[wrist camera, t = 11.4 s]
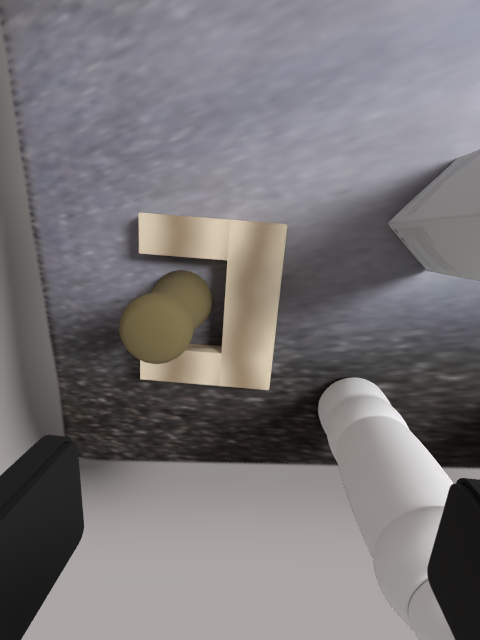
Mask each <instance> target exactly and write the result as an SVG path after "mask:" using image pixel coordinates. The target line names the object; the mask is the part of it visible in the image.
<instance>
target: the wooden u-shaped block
mask: <svg viewBox="0 0 480 640" xmlns="http://www.w3.org/2000/svg"><path fill="white" fill-rule="evenodd" d="M286 233H287V224H277V223H264V222H252V221H239V220H226V219H213V218H200V217H188V216H175V215H162V214H149V213H139V253H140V254H153V255H165V256H178V257H191V258H203V259H216V260H227V275H226V290H225V306H224V322H223V337H222V346H214V345H201V344H189V345H188V347H187V349H186V350H185V351H184V352H183V353H182V354H181V355H180V356H179V357H178V358H176V359H174V360H172V361H170V362H168V363H162V364H151V363H146V362H143V361H141V360H140V379H143V380H155V381H167V382H179V383H191V384H203V385H215V386H227V387H239V388H251V389H263V390H269V386H270V377H271V368H272V359H273V350H274V341H275V332H276V323H277V314H278V305H279V296H280V287H281V278H282V269H283V260H284V251H285V242H286Z"/></svg>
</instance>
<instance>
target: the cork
mask: <svg viewBox="0 0 480 640" xmlns="http://www.w3.org/2000/svg"><path fill="white" fill-rule="evenodd" d="M212 304H213V298H212V293H211V290H210V288H209V286H208V285H207V283H206V282H205V281H204V280H203V279H202V278H201V277H200V276H198V275H196V274H194V273H192V272H189V271H183V270H179V271H173V272H170V273H168V274H166V275H164V276H163V277H162V278H161V279H160V280H159V281H158V282H157V284H156V285H155V287H154V288H153V290H152V291H151V292H150V293H148V294H144V295H142V296H140V297H138V298H136V299H134V300H132V302H131V303H130V304H129V305H128V306H127V307H126V308H125V310H124V312H123V315H122V317H121V319H120V325H119V333H120V336H121V340H122V342H123V344H124V346H125V347H126V349H127V350H128V351H129V352H130V353H131V354H132V355H133V356H134V357H135V358H137V359H139V360H141V361H143V362H146V363H151V364H162V363H168V362H170V361H172V360H174V359H176V358H178V357H179V356H180V355H181V354H182V353H183V352H184V351H185V350H186V349H187V347H188V345H189V343H190V341H191V339H192V335H193V331H194V330H195V329H196V328H197V327H198V326H200V325H201V324H202V323H203V322H204V321H205V320H206V319H207V318H208V316H209V314H210V312H211V310H212Z"/></svg>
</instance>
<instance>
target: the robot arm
mask: <svg viewBox="0 0 480 640" xmlns="http://www.w3.org/2000/svg"><path fill="white" fill-rule="evenodd" d="M83 530H84V520H83V508H82V496H81V484H80V471H79V458H78V448H77V445H76V444H73V443H72V440H71V438H69V437H64V436H54V435H45V436H44V437H42V438H41V439H40V440H39V441H38V442H37V443H36V444H34V445H33V446H32V447H31V448H30V449H29V450H28V451H27V452H26V453H25V454H23V455H22V456H21V457H20V458H19V459H18V460H17V461H16V462H15V463H14V464H13V465H12V466H11V467H9V468H8V469H7V470H6V471H5V472H4V473H3V474H2V475H1V476H0V640H21V639H22V637H23V635H24V634H25V632H26V630H27V629H28V627H29V625H30V624H31V622H32V620H33V619H34V617H35V615H36V614H37V612H38V610H39V609H40V607H41V605H42V604H43V602H44V600H45V599H46V597H47V595H48V594H49V592H50V591H51V589H52V587H53V585H54V584H55V582H56V580H57V579H58V577H59V576H60V574H61V572H62V571H63V569H64V567H65V566H66V564H67V562H68V561H69V559H70V557H71V556H72V554H73V552H74V550H75V549H76V547H77V545H78V544H79V542H80V540H81V537H82V534H83ZM427 575H428V580H429V584H430V586H431V589H432V591H433V593H434V595H435V597H436V600H437V602H438V604H439V606H440V608H441V610H442V612H443V615H444V617H445V619H446V621H447V623H448V625H449V628H450V630H451V632H452V634H453V636H454V638H455V640H480V480H477V479H467V478H460V479H459V480H458V481H457V483H456V484H452V485H451V486H450V488H449V492H448V495H447V499H446V502H445V506H444V510H443V513H442V517H441V520H440V524H439V527H438V531H437V535H436V538H435V542H434V545H433V549H432V552H431V556H430V559H429V563H428V567H427Z"/></svg>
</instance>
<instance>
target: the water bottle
mask: <svg viewBox="0 0 480 640" xmlns="http://www.w3.org/2000/svg"><path fill="white" fill-rule="evenodd" d="M318 414H319V418H320V421H321V424H322V427H323V429H324V431H325V433H326V435H327V438H328V443H329V446H330V449H331V451H332V453H333V456H334V457H335V459H336V461H337V462H338V466H339V470H340V474H341V477H342V481H343V484H344V487H345V490H346V493H347V496H348V499H349V502H350V505H351V507H352V510H353V513H354V515H355V518H356V520H357V523H358V526H359V528H360V531H361V533H362V536H363V538H364V540H365V542H366V545H367V547H368V549H369V551H370V553H371V555H372V557H373V561H374V570H375V574H376V578H377V581H378V583H379V586H380V588H381V591H382V593H383V594H384V596H385V598H386V600H387V601H388V602H389V604H390V605H391V607H392V608H393V609H394V611H395V612H396V613H397V614H398V615H399V616H400V617H401V619H402V620H403V621H404V622H405V623H406V624H407V625H408V626H409V627H410V628H411V629H412V630H413V631H414V632H415V634H416V636H417V637H418V639H419V640H455V638H454V636H453V634H452V632H451V630H450V628H449V625H448V623H447V621H446V619H445V617H444V615H443V612H442V610H441V608H440V606H439V604H438V602H437V600H436V597H435V595H434V593H433V591H432V589H431V586H430V584H429V580H428V575H427V567H428V563H429V559H430V556H431V552H432V549H433V545H434V542H435V538H436V535H437V531H438V527H439V524H440V520H441V517H442V513H443V510H444V506H445V502H446V499H447V495H448V492H449V488H450V486H451V485H452V484H454V483H453V482H452V481H451V479H450V478H449V476H448V475H447V474H446V473H445V471H444V470H443V469H442V467H441V466H440V465H439V464H438V462H437V461H436V460H435V459H434V457H433V456H432V455H431V454H430V453H429V451H428V450H427V449H426V448H425V447H424V445H423V444H422V443H421V442H420V441H419V440H418V439H417V438H416V437H415V436H414V434H413V433H412V432H411V431H410V430H409V428H408V426H407V424H406V423H405V421H404V420H403V418H402V417H401V416H400V414H399V413H398V412H397V411H396V410H395V409H394V408H393V407H392V406H391V404H390V403H389V401H388V399H387V398H386V396H385V395H384V394H383V392H382V391H381V390H380V389H379V388H378V387H377V386H376V385H375V384H373V383H372V382H370V381H368V380H365V379H362V378H345V379H341V380H339V381H337V382H335V383H333V384H332V385H330V386H329V387H328V388H327V389H326V390H325V391H324V393H323V394H322V396H321V398H320V400H319V404H318Z"/></svg>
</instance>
